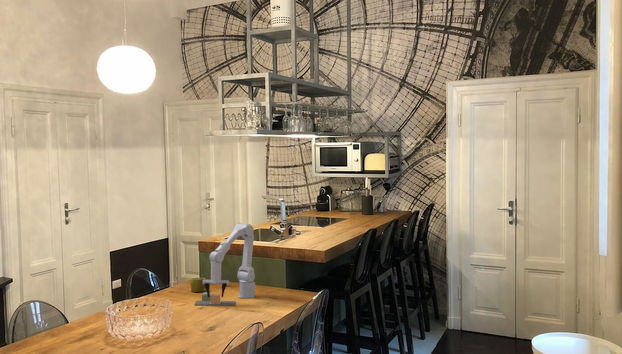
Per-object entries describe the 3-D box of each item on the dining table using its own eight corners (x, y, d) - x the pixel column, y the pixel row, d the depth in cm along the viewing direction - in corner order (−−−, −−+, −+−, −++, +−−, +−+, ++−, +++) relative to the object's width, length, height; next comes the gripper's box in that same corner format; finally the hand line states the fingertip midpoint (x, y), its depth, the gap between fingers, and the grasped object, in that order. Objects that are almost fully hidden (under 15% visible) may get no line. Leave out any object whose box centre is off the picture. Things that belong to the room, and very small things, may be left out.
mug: (206, 290, 310) (202, 274, 312) (190, 295, 310) (186, 279, 312) (211, 290, 322) (207, 274, 324) (196, 294, 322) (192, 279, 324)
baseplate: (235, 302, 293) (235, 300, 293) (234, 305, 285) (234, 304, 285) (196, 301, 291) (196, 300, 291) (194, 305, 283) (194, 304, 283)
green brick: (210, 299, 298) (211, 292, 298) (209, 301, 293) (210, 294, 293) (203, 299, 298) (203, 292, 298) (201, 301, 293) (202, 294, 293)
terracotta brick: (219, 301, 290) (219, 294, 290) (218, 303, 286) (219, 296, 286) (211, 301, 290) (211, 294, 290) (210, 303, 285) (210, 296, 285)
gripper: (202, 274, 283) (201, 298, 283) (228, 274, 284) (227, 298, 284) (203, 271, 290) (203, 295, 290) (229, 271, 291) (228, 295, 291)
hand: (215, 296), depth 288 cm, fingers open, 7 cm apart
